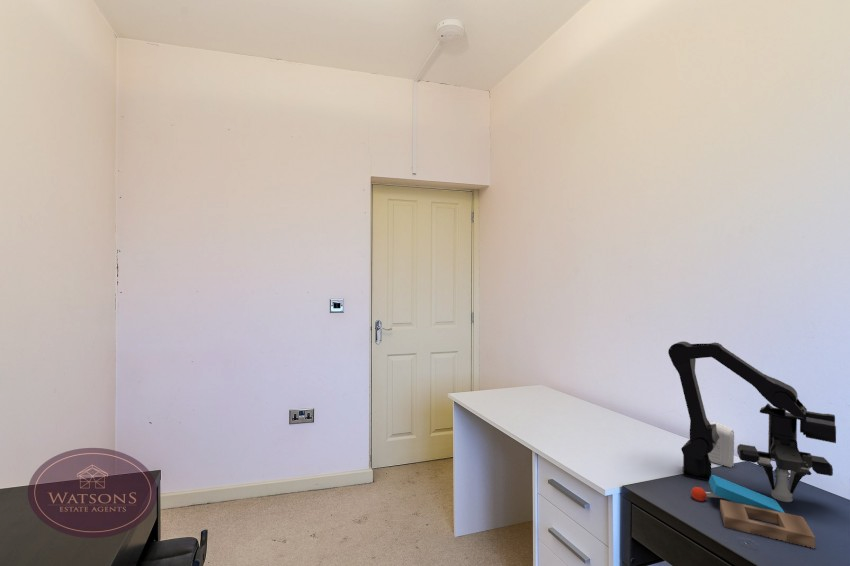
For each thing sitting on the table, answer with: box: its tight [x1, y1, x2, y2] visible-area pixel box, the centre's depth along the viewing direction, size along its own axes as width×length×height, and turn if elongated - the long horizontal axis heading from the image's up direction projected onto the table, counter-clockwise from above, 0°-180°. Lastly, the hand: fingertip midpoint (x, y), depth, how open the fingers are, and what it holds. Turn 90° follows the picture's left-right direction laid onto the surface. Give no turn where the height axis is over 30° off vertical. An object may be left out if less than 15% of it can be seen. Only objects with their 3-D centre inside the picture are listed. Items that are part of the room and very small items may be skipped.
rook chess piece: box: [770, 466, 793, 503], centre depth 112 cm, size 4×4×8 cm
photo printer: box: [708, 421, 735, 468], centre depth 135 cm, size 10×4×12 cm, turn 35°
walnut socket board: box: [719, 498, 816, 549], centre depth 98 cm, size 16×9×2 cm, turn 61°
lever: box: [690, 473, 786, 513], centre depth 108 cm, size 7×7×18 cm
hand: (781, 490), depth 112 cm, fingers closed on rook chess piece, 3 cm apart
